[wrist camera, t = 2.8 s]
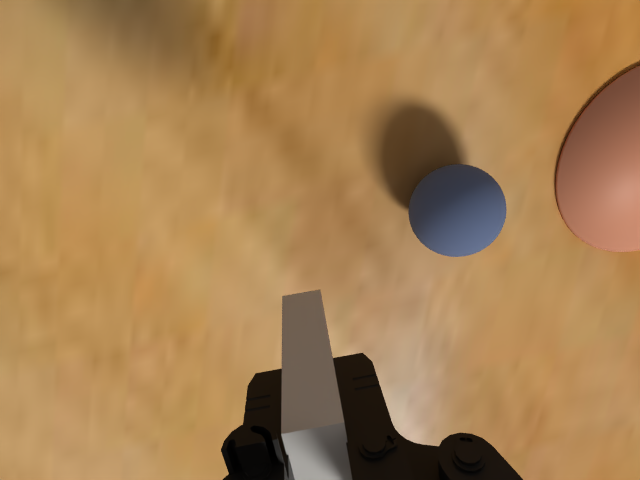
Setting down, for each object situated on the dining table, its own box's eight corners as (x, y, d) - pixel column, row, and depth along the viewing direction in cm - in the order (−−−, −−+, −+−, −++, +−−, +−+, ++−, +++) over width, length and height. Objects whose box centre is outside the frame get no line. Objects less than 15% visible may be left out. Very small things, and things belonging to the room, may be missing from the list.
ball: (384, 183, 25) (409, 208, 20) (462, 140, 25) (508, 155, 20) (417, 250, 27) (448, 288, 22) (490, 212, 27) (538, 242, 22)
